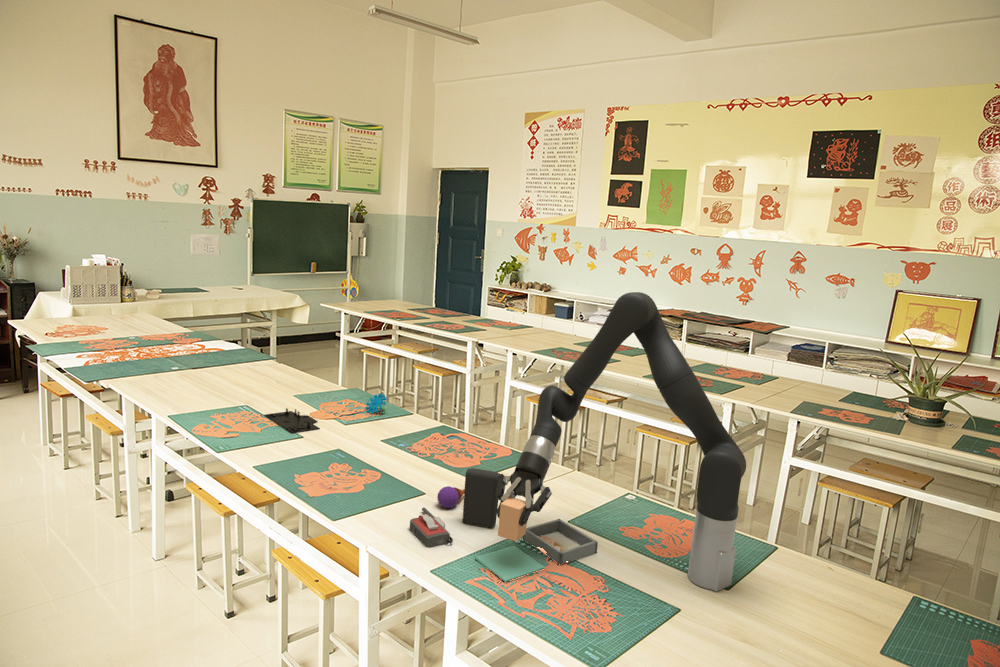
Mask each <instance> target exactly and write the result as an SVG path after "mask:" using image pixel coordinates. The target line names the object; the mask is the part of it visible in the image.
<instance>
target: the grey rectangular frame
mask: <svg viewBox="0 0 1000 667" xmlns="http://www.w3.org/2000/svg"><path fill="white" fill-rule="evenodd" d="M556 532H559V533H561V534H563V535H564V536H566V537H567V538H569V539H570V540H572V541H574V543H577V544H578V546H574V547H571V548H569V549H565V550H560V549H559V548H557V547H555V546H554V545H552V544H551V543H549V542H548V541H546V540H545V539H543V538H542V536H541V535H543V536H545V535H548V534H552V533H556ZM538 536H539V537H538ZM522 539H523V540H522V541H524V542H525V541H526V542H525V543H527V542H528V543H529V544H528V543H527V544H528V545H530V544H531V545H533V546H535V547H540V548H543V549H544V550H545V551H546V552H547V553H546V554H547V555H548V556H549V557H550V558H551V559H550V558H549V557H548V558H549V559H550V560H552V559H553V560H555V561H556V562H557V563H556V562H555V561H554V562H555V563H556V564H557V565H559V564H560V565H559V566H561V564H562V565H565V564H566V563H565V562H566V561H571V562H574V561H576V560H579V559H582V558H586V557H589V556H591V555H594V554H595V555H596V554H597V553H598V546H599V541H597V540H596V539H594V538H592V537H591V536H589V535H587V534H585V533H584V532H582V531H580V530H579V529H577V528H576V527H574V526H573V525H570V524H569V523H568V522H566V521H564V520H562V519H560V518H557V519H554V520H550V521H547V522H543V523H540V524H536V525H532V526H530V527H526V534H525V535H524V536H522ZM531 545H530V546H531ZM533 546H532V547H533ZM553 560H552V561H553ZM564 563H565V564H564Z"/></svg>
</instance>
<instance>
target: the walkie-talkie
mask: <svg viewBox="0 0 1000 667" xmlns="http://www.w3.org/2000/svg"><path fill="white" fill-rule="evenodd" d="M421 510H422V512H423V513H424V514H419V515H418V517H415V518H412V519H410V520H409V530H410V531H411V533H413V535H414V536H416V538H417V539H418V540H419V541H420V542H421V543H422V544H423V546H425V547H426V548H435V547H440V546H444V545H448V544H452V543H453V542H454V539H453V538H452V537H451V534H450V532H449V531H448V530H447V529H446V523H445V521H444V520H443V519H442V518H441V517H440V516H435V515H433V514H432V513H431V512H430V511H429V510H428V509H427V508H426V507H422V508H421Z"/></svg>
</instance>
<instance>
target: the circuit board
mask: <svg viewBox="0 0 1000 667" xmlns="http://www.w3.org/2000/svg"><path fill="white" fill-rule="evenodd" d="M300 413H301V412H300V411H297V409H296V408H295V409H294V411H292V410H289V408H287V407H286V408H285V411H282V412H273V413H267V414H263V416H264V417H265V418H267V419H268V420H270V421H271V422H273V423H274V424H275V425H277V426H279V427H280V428H282V429H283V430H284V431H286V432H288V433H289V434H290V435H291V434H292V435H294V434H299V433H305V432H310V431H312V432H313V431H317V430H318V431H319V430H320V429H321V428H320V427H318V426H317V425H316V423H318V420H316V419H315V418H313V417H311V416H310V415H307V414H304V415H302V414H300Z"/></svg>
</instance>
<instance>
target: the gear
mask: <svg viewBox="0 0 1000 667" xmlns="http://www.w3.org/2000/svg"><path fill="white" fill-rule="evenodd" d="M368 400H369V401H370V402H369V401H367V402H366V403H365V405H366V406H365V410H366V412H367V413H368V414H371V415H373V414H374V413H376V414H377V413H379V411H380V412H382V413H384V414H385V415H387V414H388V412H387V411H386V407H385V406H386V404H387V402H386V401H387V400H388V399H387V396H386V394H384V393H383V394H382V393H381V392H380V393H378V395H377V394H374V395H373V398H372V397H370V398H369V399H368ZM382 404H383V405H382Z"/></svg>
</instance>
